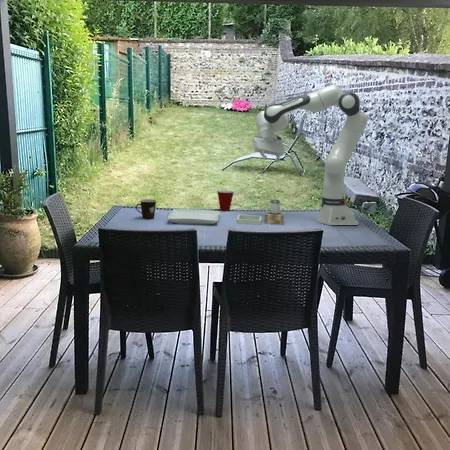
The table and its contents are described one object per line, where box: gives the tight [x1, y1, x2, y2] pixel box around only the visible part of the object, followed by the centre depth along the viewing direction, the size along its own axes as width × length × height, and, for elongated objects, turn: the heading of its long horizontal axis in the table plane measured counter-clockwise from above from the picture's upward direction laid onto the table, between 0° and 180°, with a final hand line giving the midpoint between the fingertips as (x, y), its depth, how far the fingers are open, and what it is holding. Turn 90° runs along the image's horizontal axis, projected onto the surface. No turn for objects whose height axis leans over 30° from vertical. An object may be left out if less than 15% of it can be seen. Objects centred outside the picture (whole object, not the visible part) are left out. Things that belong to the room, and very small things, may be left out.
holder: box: [264, 210, 285, 226], centre depth 278 cm, size 10×10×6 cm
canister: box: [269, 199, 281, 215], centre depth 277 cm, size 5×5×12 cm
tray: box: [236, 214, 263, 225], centre depth 278 cm, size 13×13×3 cm
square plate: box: [166, 208, 221, 225], centre depth 282 cm, size 27×27×4 cm
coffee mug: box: [135, 198, 157, 221], centre depth 281 cm, size 12×9×10 cm
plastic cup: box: [216, 190, 235, 212], centre depth 311 cm, size 11×11×12 cm
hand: (271, 160), depth 282 cm, fingers open, 8 cm apart
